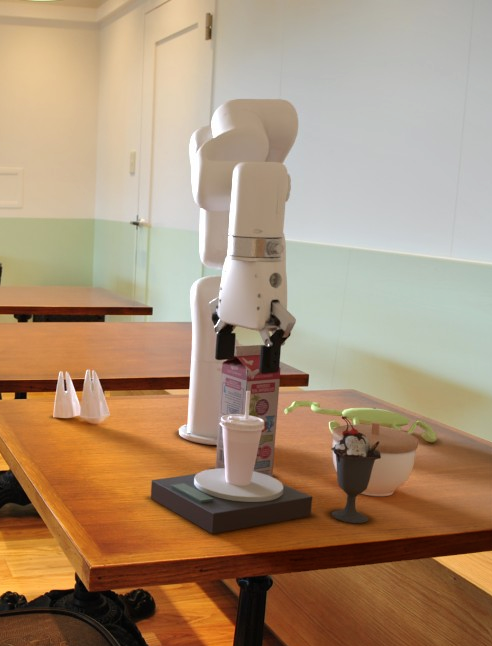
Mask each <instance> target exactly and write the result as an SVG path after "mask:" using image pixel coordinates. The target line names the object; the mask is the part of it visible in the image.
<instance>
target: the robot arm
mask: <svg viewBox="0 0 492 646" xmlns="http://www.w3.org/2000/svg"><path fill="white" fill-rule="evenodd" d="M298 132H299V115H298V112H297V109H296V107H295V106H294V105H293V104H292V102H290V101H288V100H286V99H282V98H281V99H280V98H236V99H235V98H234V99H230V100H228V101H225V102H223V103H221V104H220V105H219V106H218V107H217V108H216V110H215V111H214V113H213V114H212V118H211V125H205V126H201V127H200V128H197V129H196V130H195V131H194V132H193V133H192V135H191V137H190V140H189V141H190V142H189V162H190V167H191V168H190V169H191V174H190V175H191V176H190V177H191V191H192V196H193V200H194V202H195V204H196V206H197V207H198V208H199V209H200V211H199V258H200V261H201V263H202V265H203V266H204V267H206V268H208V269H212V270H219V271H222V274H220V275H219V274H216V275H213V274H212V275H206V276H203V277H200V278H198V279H197V280H196V281H194V282H193V284H192V286H191V288H190V293H189V294H190V295H189V303H190V304H189V305H190V314H191V332H192V333H191V356H190V357H191V358H190V372H189V373H190V374H189V389H188V390H189V391H188V409H187V424H184V425H181V426H179V428H178V435H179V436H180V437H181V438H182V439H184V440H186V441H189V442H193V443H196V444H201V445H208V446H209V445H210V446H217V438H218V423H219V407H220V391H221V376H222V363H223V362H224V361H226V360H228V359H233V358H234V356H235V347H236V346H242V345H241V343H240V341H239V340H238V338H237V337H236V336H237V335H236V332H234V330H235V329H236V327H239V328H243V329H247V330H251V331H256V332H258V333H259V334H260V338H261V340H262V342H263V344H262V345H263V346H261V350H260V363H259V372H260V373H262V374H267V373H277V372H278V371H279V367H280V365H281V364H280V363H281V352H282V351H281V350H282V346H285V344H286V341H287V340H288V339H289V338H290V336H291V334H292V331H293V328H294V327H295V325H296V322H297V320H296V318H295V316H294V315H293V314H292V313H291V312H290V311H289V310H288V278H287V245H286V244H287V242H286V237H285V233H284V227H285V214H286V203H287V202H288V201H289V199H290V194H291V191H292V190H291V189H292V183H291V182H292V179H291V175H290V174H289V173H288V169H287V168H288V167H286V165H284V163H285V160H286V159H287V157H288V155H289V153H290V152H291V150H292V148H293V147H294V145H295V142H296V141H297V140H296V139H297V136H298ZM270 332H271V333H270Z"/></svg>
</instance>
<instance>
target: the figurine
mask: <svg viewBox="0 0 492 646" xmlns="http://www.w3.org/2000/svg"><path fill="white" fill-rule="evenodd" d="M298 407H307V408H310V410H311V411H313V412H314V413H316V414H321V415H325V416H336V417H342V416H343V417H347V419H348V420H349V421H352V423H353V424H362V425H372V422H378V423H380V426H382V427H388V428H393V429H397V430H401V431H402V428H401V427H403V426H407V425H409V424H410V422H411V420H410V419H409V418H408V417H407V416H405V415H403V414H400V413H398V412H394V411H391V410H386V409H382V408H381V409H380V408H377V407H372V408H371V407H353V408H346V409H344V410H341V409H331V408H322V407H321V405H320V404H319V403H318V402H315V401H309V400H295V401H293V402H292V403H291V405H290V406H288V407H286V408H284V409H283V413H284V415H288V414H290V413H291V412H294V410H296V409H297V408H298ZM338 426H341V425H340V423H339V422H338V421H337V420H332V421H329V422H328V428H329V431H330V433H331V435H332V434H333V430H334V428H336V427H338ZM417 426H419V427H420V428H421V429H423V430H424V431H425V432H422V433H421V438H423V440H424V441H426V442H428V443H435V442H436V441H437V435H436V433H435V431H434V429H432V427H431V426H430V425H429V424H427V423H426V422H424V421H422V420H417V421H415V422H413V423H412V424H411V426H410V428H409V430H408V431H407V432H406V433H409V434H411V435H413V434H414V432H415V430H416V429H417Z"/></svg>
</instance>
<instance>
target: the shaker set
mask: <svg viewBox="0 0 492 646" xmlns="http://www.w3.org/2000/svg"><path fill="white" fill-rule="evenodd" d="M69 373H70V372H68V371H65V378H64V372H63V370H61V371H59V373H58V379H57V384H56V391H55V396H54V397H55V398H54V405H53V406H54V407H53V418H60V419H69V418H75V417H78V416H79V418H80V419H82V420H83V421H85V422H87V423H89V424H91V425H98V424H100V423H102V422H104V421H105V420H106V419H107V418H108V417H110V416H111V412H110V408H109V406H108V402H107V400H106V397H105V396H106V395H105V393H104V389H103V388H102V387H103V386H102V385H101V382H100V379H99V376H98V374H97V372H96V370H95V369H93V370H92V374H91V370H90V369H87V370H86V372H85V376H84V381H83V387H82V394H81V402H80V401H79V398H78V395H77V392H76V389H75V387H74V384H73V380H72V378H71V376H70V374H69ZM91 375H92V376H91ZM91 377H92V378H91ZM64 379H65V380H64ZM65 384H66V385H65ZM65 386H66V390H65Z"/></svg>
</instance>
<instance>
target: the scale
mask: <svg viewBox="0 0 492 646" xmlns="http://www.w3.org/2000/svg"><path fill="white" fill-rule="evenodd" d="M150 485H151V486H150V499H151V500H152V501H155V502H156V503H158V504H159V505H161V506H163V507H164V508H166V509H168V510H170V511H171V512H173V513H175V514H176V515H178V516H180V517H182V518H183V519H186V520H187V521H189V522H191V523H192V524H194V525H196V526H198V527H200V528H201V529H203V530H204V531H206V532H208V533H210V534H212V535H214V534H221V533H225V532H226V533H227V532H232V531H236V530H237V531H238V530H243V529H247V528H252V527H257V526H258V527H259V526H265V525H269V524H274V523H281V522H285V521H291V520H295V519H301V518H306V517H311V516H312V505H313V504H312V503H313V496H312V495H309V494H307V493H305V492H303V491H301V490H298V489H296V488H293V487H291V486H288V485H286V484H284V483H282V482H281V481H280V480H279V479H277V478H275V477H273V476H272V477H271V476H268V475H265V474H262V473H259V472H255V471H253V475H252V480H251V484H250V485H246V486H238V485H232V484H229V483H227V482H226V478H225V468H219V469H216V468H211V469H210V468H209V469H205V470H201V471H199V472H198V473H192V474H191V473H190V474H185V475H177V476H171V477H165V478H158V479H157V478H156V479H152V480H151V484H150Z"/></svg>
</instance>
